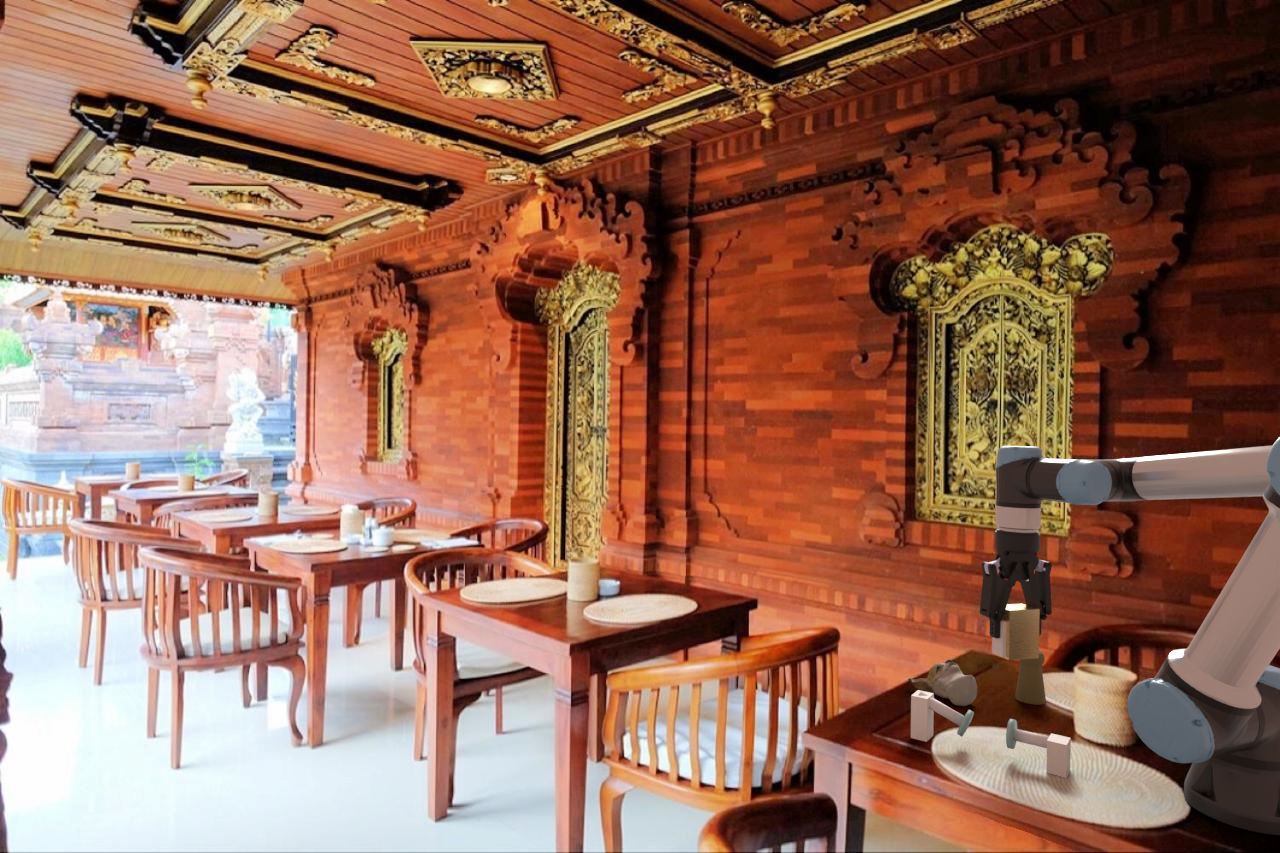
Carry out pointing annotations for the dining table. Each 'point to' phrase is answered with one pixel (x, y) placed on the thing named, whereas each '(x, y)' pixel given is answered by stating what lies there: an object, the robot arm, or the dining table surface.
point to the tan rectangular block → (1021, 631)
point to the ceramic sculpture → (949, 683)
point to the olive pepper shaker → (1031, 681)
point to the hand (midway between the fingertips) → (1015, 653)
